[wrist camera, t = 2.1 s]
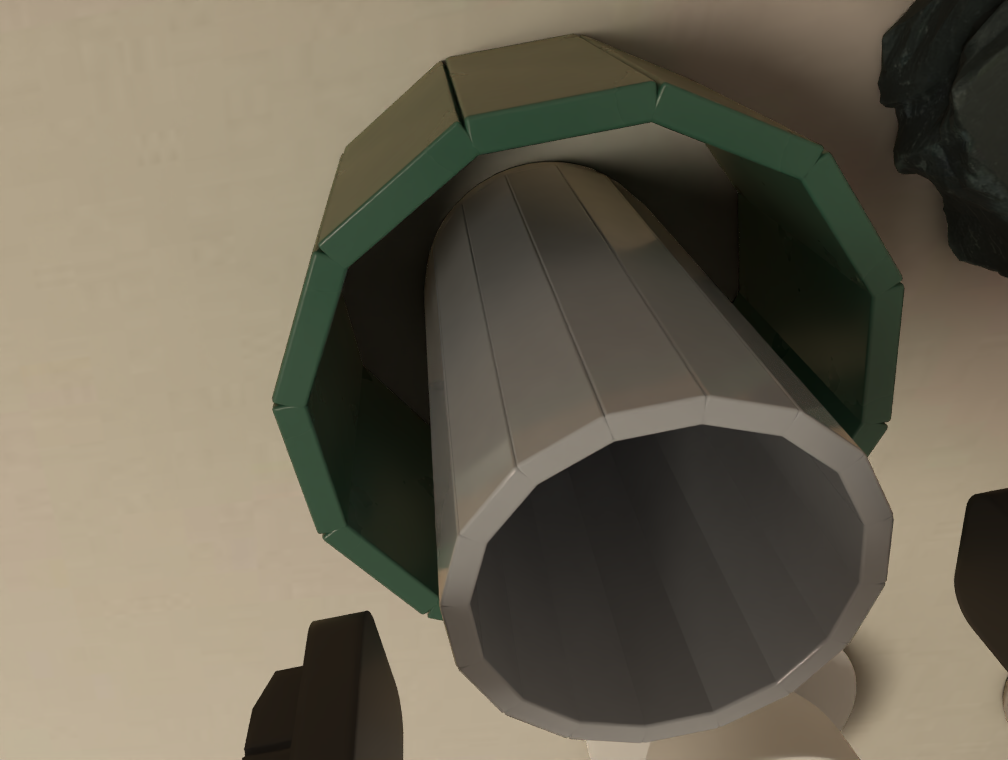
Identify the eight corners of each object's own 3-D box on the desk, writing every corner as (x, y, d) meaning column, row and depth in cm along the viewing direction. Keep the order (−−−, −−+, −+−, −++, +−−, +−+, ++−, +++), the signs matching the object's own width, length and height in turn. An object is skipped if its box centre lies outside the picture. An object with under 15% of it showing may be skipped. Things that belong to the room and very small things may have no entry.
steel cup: (401, 187, 18) (395, 456, 9) (652, 139, 19) (914, 355, 9) (450, 402, 21) (486, 776, 12) (667, 360, 22) (874, 698, 12)
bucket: (256, 93, 17) (183, 170, 11) (761, -3, 17) (933, 27, 12) (379, 495, 23) (370, 680, 17) (760, 420, 23) (875, 579, 17)
